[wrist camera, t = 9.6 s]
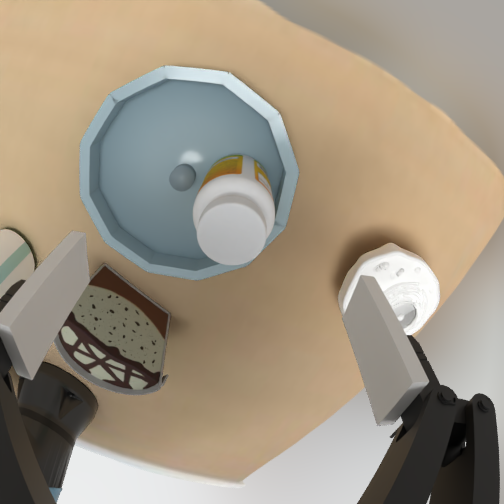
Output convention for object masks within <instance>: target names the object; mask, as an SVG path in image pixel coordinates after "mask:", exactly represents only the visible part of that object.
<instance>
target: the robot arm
mask: <svg viewBox="0 0 504 504" xmlns="http://www.w3.org/2000/svg"><path fill="white" fill-rule="evenodd" d="M89 282H90V276H89V267H88V256H87V244H86V233H83V232H77V231H71V232H70V233H69V234H68V235H67V236H66V237H65V239H64V240H63V241H62V242H61V243H60V244H59V245H58V246H57V247H56V248H55V249H54V250H53V251H52V252H51V253H50V254H49V255H48V257H47V258H46V259H45V260H44V261H43V262H42V263H41V264H40V265H39V267H38V268H37V269H36V270H35V271H34V272H33V273H32V274H31V276H30V277H29V278H28V279H27V280H22V279H21V280H19V281H18V282H16V283H15V284H13V285H12V286H11V287H10V288H9V289H8V290H7V291H6V293H5V295H3V296H2V297H1V299H0V504H56V502H57V500H58V497H59V495H60V492H61V491H62V484H63V481H64V477H65V474H66V470H67V466H68V463H69V460H70V457H71V454H72V450H73V447H74V444H75V441H76V439H77V438H78V437H79V435H80V434H81V433H82V432H83V431H84V430H85V428H86V427H87V426H88V425H89V424H90V422H91V421H92V420H93V419H94V416H95V414H96V411H97V407H98V405H97V401H96V399H95V397H94V396H93V394H92V393H91V392H90V391H89V390H88V389H87V388H86V387H85V386H84V385H83V384H82V383H81V382H80V381H78V380H77V379H76V378H74V377H73V376H71V375H70V374H68V373H66V372H65V371H63V370H61V369H59V368H57V367H55V366H53V365H50V364H47V363H44V362H42V361H43V359H44V357H45V355H46V354H47V352H48V350H49V348H50V346H51V345H52V343H53V341H54V339H55V338H56V336H57V334H58V332H59V331H60V329H61V327H62V326H63V324H64V322H65V320H66V319H67V317H68V316H69V314H70V312H71V311H72V309H73V307H74V306H75V304H76V303H77V301H78V299H79V298H80V296H81V295H82V293H83V291H84V290H85V288H86V287H87V285H88V284H89ZM342 320H343V322H344V325H345V328H346V331H347V334H348V337H349V339H350V342H351V345H352V348H353V351H354V354H355V357H356V360H357V363H358V366H359V369H360V372H361V375H362V378H363V381H364V385H365V388H366V391H367V394H368V397H369V400H370V404H371V407H372V410H373V413H374V416H375V420H376V423H377V426H381V425H391V424H394V423H395V422H396V420H397V419H398V418H399V417H400V416H401V418H402V421H403V423H402V424H401V426H400V427H399V428H398V429H397V430H396V431H395V432H394V433H393V434H392V435H391V436H390V438H393V437H394V436H395V437H394V439H393V441H392V443H391V445H390V447H389V449H388V451H387V453H386V455H385V457H384V458H383V460H382V462H381V464H380V466H379V468H378V470H377V471H376V473H375V475H374V477H373V478H372V480H371V482H370V484H369V485H368V487H367V488H366V490H365V492H364V494H363V495H362V497H361V498H360V500H359V501H358V503H357V504H426V503H427V500H428V498H429V496H430V493H431V496H430V502H429V504H499V490H500V489H499V488H500V477H499V476H500V474H499V473H500V472H499V447H498V434H497V424H496V414H495V408H494V404H493V403H492V401H491V400H490V398H488V397H487V396H486V395H484V394H480V393H479V394H475V395H474V396H473V398H472V399H471V400H470V401H467V400H463V399H458V398H457V396H456V394H455V393H454V391H453V390H451V389H450V388H449V387H447V386H444V385H440V384H439V381H438V379H437V377H436V375H435V373H434V371H433V369H432V367H431V365H430V363H429V361H427V357H426V356H425V354H423V350H422V348H421V346H420V344H419V343H418V342H417V341H416V340H415V339H414V338H413V336H412V335H406V333H405V332H404V330H403V328H402V326H401V324H400V322H399V320H398V318H397V317H396V315H395V313H394V311H393V309H392V307H391V306H390V304H389V302H388V300H387V298H386V297H385V295H384V293H383V291H382V289H381V288H380V286H379V284H378V282H377V281H376V279H375V277H373V276H366V275H360V278H359V280H358V282H357V285H356V287H355V290H354V292H353V294H352V297H351V299H350V301H349V304H348V306H347V308H346V311H345V313H344V315H343V317H342ZM12 365H13V367H14V369H15V371H16V373H17V375H20V377H19V384H18V391H17V399H16V395H15V391H14V387H13V383H12V379H11V376H10V374H9V372H8V371H9V370H10V368H11V366H12ZM465 442H466V447H465Z"/></svg>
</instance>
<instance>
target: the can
mask: <svg viewBox="0 0 504 504" xmlns="http://www.w3.org/2000/svg"><path fill="white" fill-rule="evenodd" d="M34 268H35V264H34V258H33V255H32V252H31V250H30V248H29V246H28V245H27V243H26V242H25V241H24V239H23V238H22V237H21V236H19V235H18V234H17V233H15V232H14V231H11V230H8V229H3V230H0V299H1V297H2V296H3V295H5V293H6V291H7V290H8V289H9V288H10V287H11V286H12V285H13V284H15V283H16V282H18V281H19V280H21V279H22V280H27V279H28V278H29V277H30V276H31V274H32V273H33V272H34Z"/></svg>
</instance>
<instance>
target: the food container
mask: <svg viewBox="0 0 504 504" xmlns="http://www.w3.org/2000/svg"><path fill="white" fill-rule="evenodd" d="M170 318H171V313H169V312H168V311H167V310H165V309H164V308H162V307H161V306H160V305H158V304H157V303H156V302H154V301H153V300H152V299H150V298H149V297H148V296H146V295H145V294H144V293H142V292H141V291H140V290H139V289H137V288H136V287H135V286H133V285H132V284H131V283H130V282H128V281H127V280H126V279H124V278H123V277H122V276H121V275H119V274H118V273H117V272H116V271H114V270H113V269H112V268H111V267H109V266H108V265H107V264H106V263H105V262H104V263H103V264H102V266H101V267H100V268H99V269H98V270H97V271H96V272H95V273H94V274H93V275H92V276H91V277H90V282H89V284H88V285H87V287H86V288H85V290H84V291H83V293H82V295H81V296H80V298H79V299H78V301H77V303H76V304H75V306H74V307H73V309H72V311H71V312H70V314H69V316H68V317H67V319H66V320H65V322H64V324H63V326H62V327H61V329H60V331H59V332H58V334H57V336H56V338H55V339H54V344H55V346H56V348H57V350H58V352H59V354H60V355H61V357H62V358H63V359H64V361H65V362H66V363H67V364H68V365H69V366H70V367H71V368H72V369H73V370H74V371H75V372H76V373H78V374H79V375H80V376H82V377H83V378H85V379H86V380H88V381H89V382H91V383H93V384H95V385H97V386H99V387H101V388H104V389H106V390H109V391H112V392H116V393H120V394H126V395H145V394H150V393H153V392H156V391H158V390H160V388H161V386H163V385H164V384H165V381H166V379H167V377H168V375H165V376H163V368H164V360H165V352H166V345H167V338H168V331H169V324H170ZM162 376H163V377H162Z"/></svg>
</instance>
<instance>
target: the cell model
mask: <svg viewBox="0 0 504 504" xmlns="http://www.w3.org/2000/svg"><path fill="white" fill-rule="evenodd" d="M360 275H366V276H373V277H375V279H376V281H377V282H378V284H379V286H380V288H381V289H382V291H383V293H384V295H385V297H386V298H387V300H388V302H389V304H390V306H391V307H392V309H393V311H394V313H395V315H396V317H397V318H398V320H399V322H400V324H401V326H402V328H403V330H404V332H405V333H406V335H412V334H414V333H415V332H416V331H418V330H419V329H420V328H421V327H422V326H423V325H424V324H425V323H426V321H427V320H428V319H429V317H430V316H431V315H432V314H433V313H434V311H435V310H436V308H437V306H438V304H439V300H440V290H439V282H438V279H437V278H436V276H435V275H434V273H433V272H432V270H431V269H430V267H429V266H428V264H427V263H426V262H425V261H424V260H423V259H422V258H421V257H420V256H418V255H417V254H415V253H412V252H410V251H407V250H405V249H402V248H400V247H399V246H397V245H396V244H394V243H388V244H385V245H383V246H382V247H380V248H377V249H375V250H372V251H369V252H367V253H365V254H363V255H361V256H360V257H359V259H358V260H357V262H356V263H355V264H354V265H353V266H352V268H351V269H350V270H349V271H348V273H347V274H346V277H345V279H344V281H343V284H342V286H341V289H340V291H339V294H338V303H339V307H340V310H341V313H342V316H343V315H344V313H345V311H346V308H347V306H348V304H349V301H350V299H351V297H352V294H353V292H354V290H355V287H356V285H357V282H358V280H359V278H360Z"/></svg>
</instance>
